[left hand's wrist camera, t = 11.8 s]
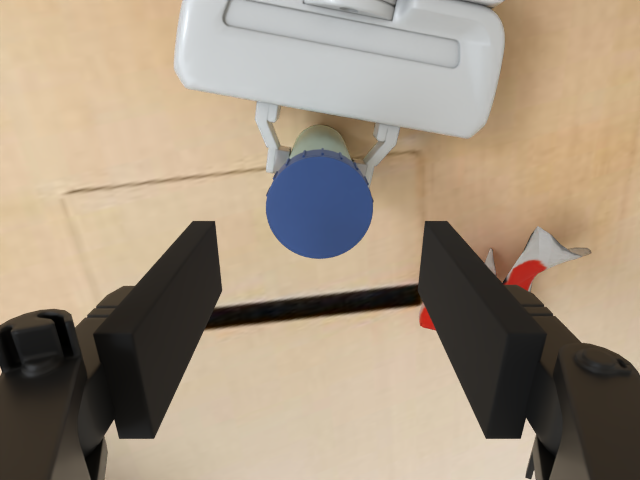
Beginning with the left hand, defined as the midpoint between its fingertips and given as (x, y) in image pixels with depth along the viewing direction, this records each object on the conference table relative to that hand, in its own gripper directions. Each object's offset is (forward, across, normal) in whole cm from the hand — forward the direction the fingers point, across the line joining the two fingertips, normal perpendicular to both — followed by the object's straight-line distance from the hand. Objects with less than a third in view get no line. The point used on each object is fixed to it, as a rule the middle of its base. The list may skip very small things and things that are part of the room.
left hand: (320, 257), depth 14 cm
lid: (+6, 0, 0) cm, 6 cm away
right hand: (+15, 0, -1) cm, 16 cm away
